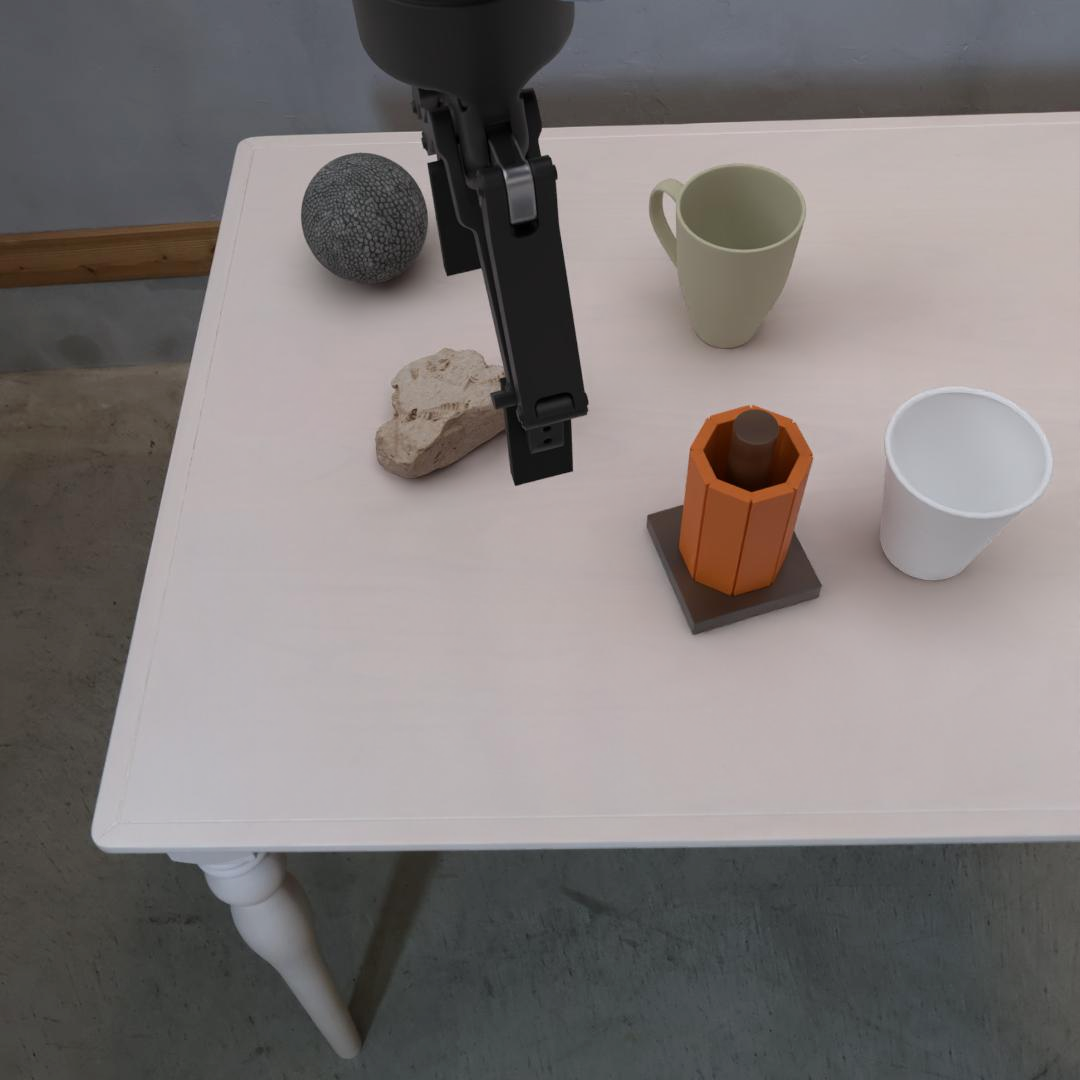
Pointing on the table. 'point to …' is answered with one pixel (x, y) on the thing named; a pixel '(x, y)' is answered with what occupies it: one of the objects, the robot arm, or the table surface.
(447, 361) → the stone
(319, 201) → the decorative ball
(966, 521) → the cup
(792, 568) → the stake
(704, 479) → the orange octagonal sleeve
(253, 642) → the table surface
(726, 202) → the mug
